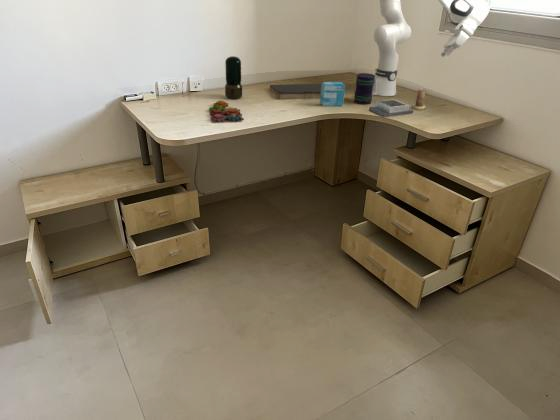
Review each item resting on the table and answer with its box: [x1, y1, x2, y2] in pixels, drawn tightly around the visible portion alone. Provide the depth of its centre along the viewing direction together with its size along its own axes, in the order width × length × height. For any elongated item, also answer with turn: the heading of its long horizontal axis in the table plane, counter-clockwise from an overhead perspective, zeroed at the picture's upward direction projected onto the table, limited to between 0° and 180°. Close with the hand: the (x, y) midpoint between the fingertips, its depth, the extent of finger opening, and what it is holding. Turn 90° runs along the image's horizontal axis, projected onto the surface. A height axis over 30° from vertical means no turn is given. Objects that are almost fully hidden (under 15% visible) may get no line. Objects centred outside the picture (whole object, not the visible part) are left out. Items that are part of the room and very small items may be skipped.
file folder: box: [269, 83, 322, 101], centre depth 252 cm, size 33×4×24 cm
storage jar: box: [353, 72, 375, 106], centre depth 237 cm, size 10×10×15 cm
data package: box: [319, 81, 346, 107], centre depth 231 cm, size 12×4×12 cm, turn 98°
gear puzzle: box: [208, 100, 245, 124], centre depth 215 cm, size 31×16×4 cm, turn 12°
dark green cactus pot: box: [224, 55, 243, 100], centre depth 234 cm, size 10×10×22 cm
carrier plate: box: [368, 98, 414, 118], centre depth 226 cm, size 13×19×4 cm
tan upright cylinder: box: [411, 88, 427, 111], centre depth 232 cm, size 7×7×10 cm
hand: (444, 55), depth 221 cm, fingers open, 8 cm apart
